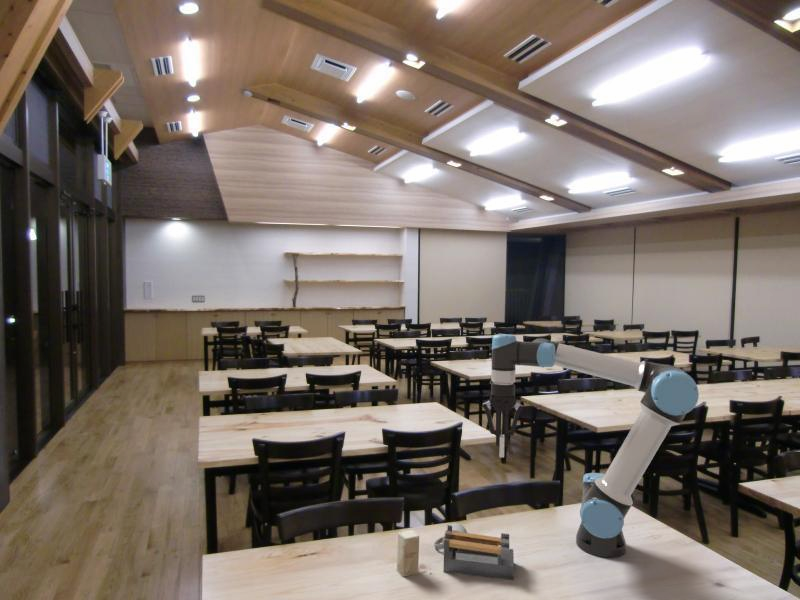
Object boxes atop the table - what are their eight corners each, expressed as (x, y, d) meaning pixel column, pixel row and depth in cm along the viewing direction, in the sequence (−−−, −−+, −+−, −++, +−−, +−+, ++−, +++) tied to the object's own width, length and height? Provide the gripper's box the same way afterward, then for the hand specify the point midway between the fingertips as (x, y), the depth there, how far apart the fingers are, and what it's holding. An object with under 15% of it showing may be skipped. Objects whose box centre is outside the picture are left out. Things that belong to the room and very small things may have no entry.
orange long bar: (508, 543, 158) (508, 537, 158) (508, 547, 156) (508, 541, 156) (445, 534, 162) (445, 529, 162) (444, 538, 160) (445, 532, 160)
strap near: (508, 552, 153) (508, 546, 153) (508, 556, 151) (508, 550, 151) (443, 543, 157) (443, 537, 157) (442, 546, 154) (442, 540, 154)
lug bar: (455, 543, 163) (455, 525, 163) (452, 559, 153) (452, 540, 153) (447, 542, 163) (447, 524, 163) (443, 558, 153) (444, 539, 153)
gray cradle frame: (513, 562, 159) (513, 534, 159) (513, 580, 149) (514, 550, 149) (447, 554, 163) (447, 527, 163) (443, 571, 153) (444, 542, 153)
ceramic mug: (467, 544, 170) (467, 520, 170) (467, 556, 162) (467, 532, 162) (435, 541, 172) (435, 518, 172) (433, 554, 164) (432, 529, 164)
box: (403, 577, 150) (403, 538, 150) (396, 570, 154) (396, 532, 154) (419, 573, 153) (419, 535, 152) (412, 565, 156) (412, 529, 156)
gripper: (523, 381, 170) (522, 454, 171) (483, 379, 173) (481, 451, 173) (524, 385, 163) (522, 461, 163) (482, 383, 165) (480, 458, 166)
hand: (501, 456), depth 168 cm, fingers closed
